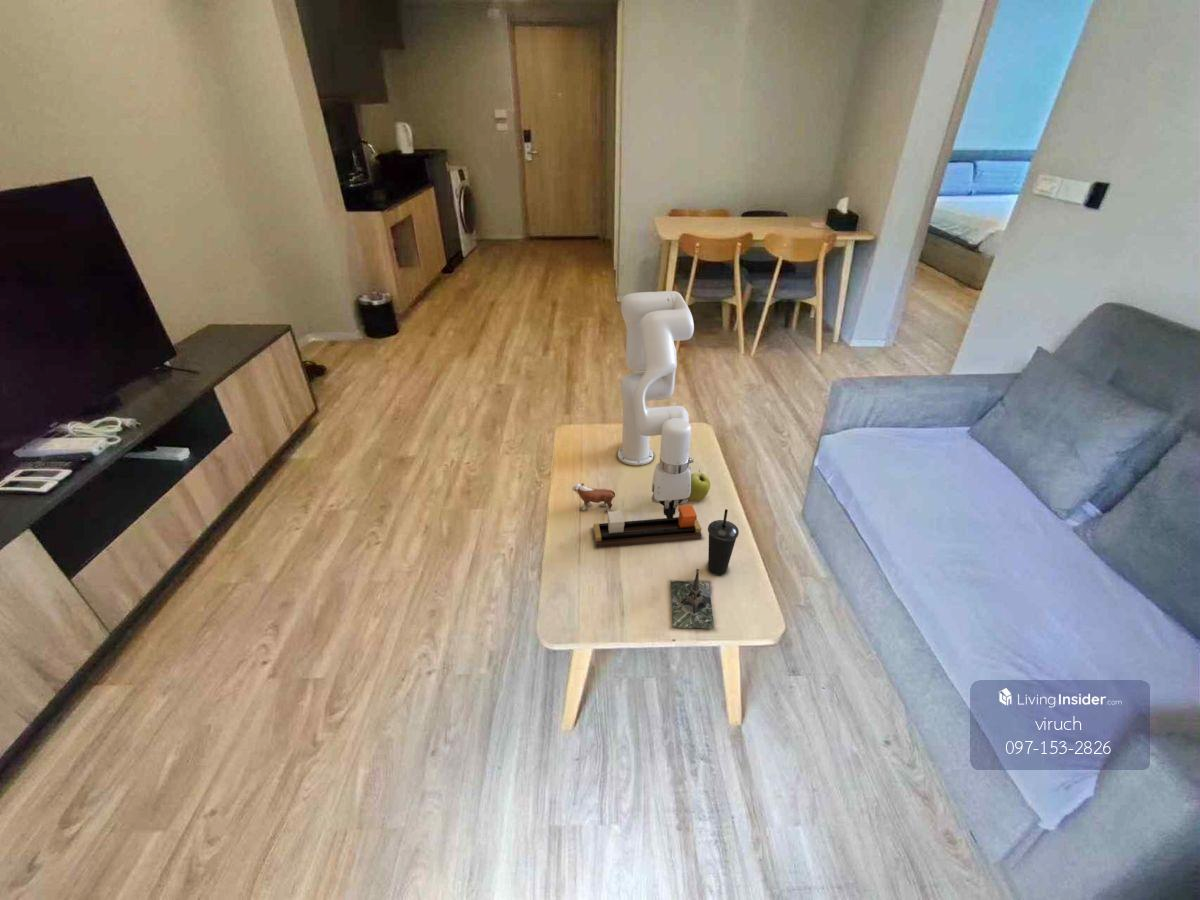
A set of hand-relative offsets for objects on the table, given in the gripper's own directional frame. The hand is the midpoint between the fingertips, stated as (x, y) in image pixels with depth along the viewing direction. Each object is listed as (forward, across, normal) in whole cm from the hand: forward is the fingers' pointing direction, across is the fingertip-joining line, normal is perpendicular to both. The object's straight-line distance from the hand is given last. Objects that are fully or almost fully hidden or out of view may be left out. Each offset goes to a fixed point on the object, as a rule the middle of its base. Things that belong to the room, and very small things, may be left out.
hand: (669, 516), depth 152 cm
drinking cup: (+6, -10, +17) cm, 20 cm away
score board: (+6, +6, 0) cm, 9 cm away
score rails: (+4, +6, 0) cm, 8 cm away
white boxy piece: (+4, +15, 0) cm, 16 cm away
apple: (+6, -13, -15) cm, 20 cm away
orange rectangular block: (+4, -5, 0) cm, 7 cm away
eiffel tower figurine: (+5, 0, +28) cm, 28 cm away
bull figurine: (+6, +20, -14) cm, 25 cm away
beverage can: (+6, -7, -14) cm, 17 cm away
